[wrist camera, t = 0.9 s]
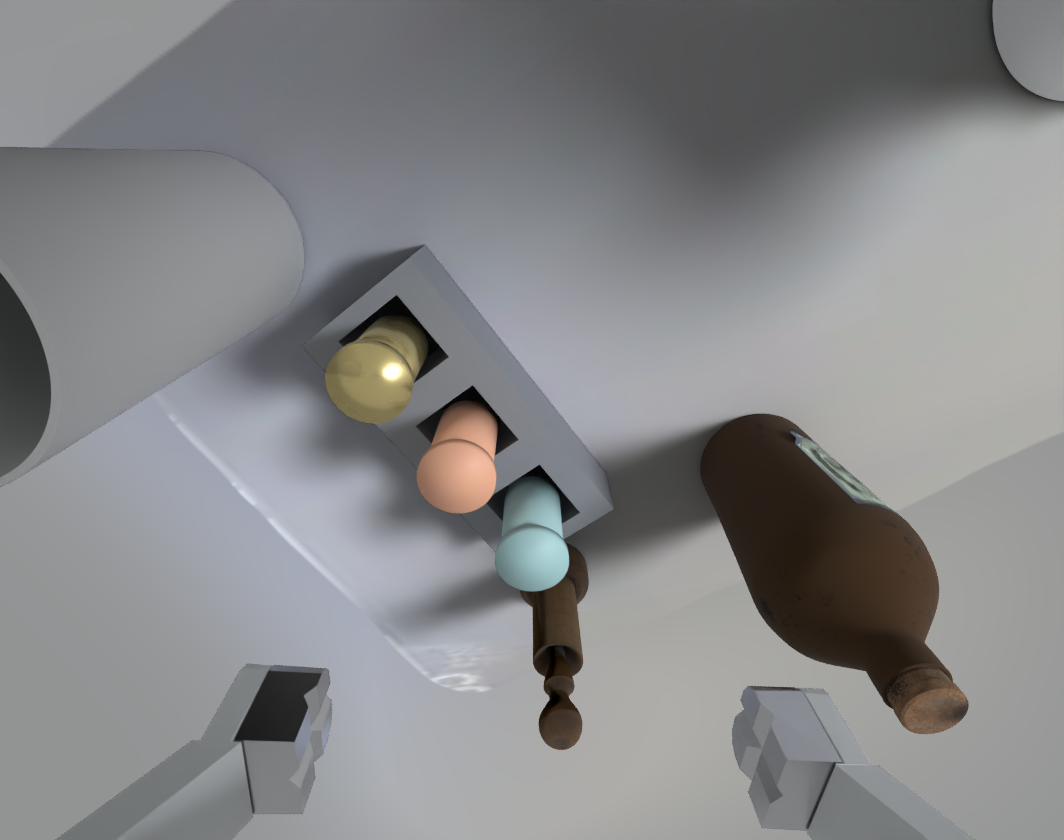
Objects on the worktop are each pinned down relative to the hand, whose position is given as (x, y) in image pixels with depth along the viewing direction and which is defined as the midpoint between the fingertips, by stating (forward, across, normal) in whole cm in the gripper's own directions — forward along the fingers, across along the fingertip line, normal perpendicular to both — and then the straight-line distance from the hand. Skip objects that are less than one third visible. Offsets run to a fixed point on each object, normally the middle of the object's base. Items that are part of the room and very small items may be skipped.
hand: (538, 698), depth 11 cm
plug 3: (+32, -2, +14) cm, 35 cm away
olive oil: (+36, -21, +12) cm, 44 cm away
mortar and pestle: (+37, -5, +25) cm, 45 cm away
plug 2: (+32, +4, +8) cm, 33 cm away
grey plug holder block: (+37, +3, +8) cm, 38 cm away
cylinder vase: (+37, +22, -3) cm, 43 cm away
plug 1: (+32, +9, +2) cm, 33 cm away
